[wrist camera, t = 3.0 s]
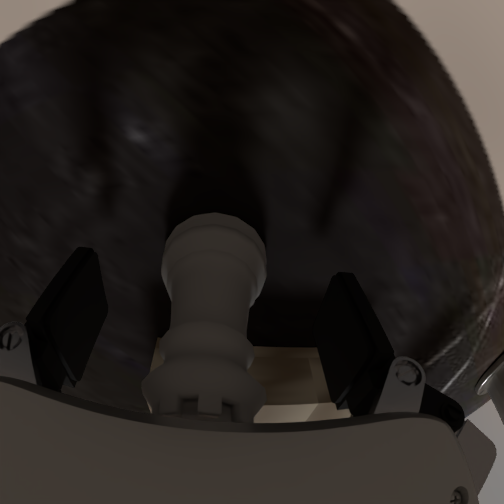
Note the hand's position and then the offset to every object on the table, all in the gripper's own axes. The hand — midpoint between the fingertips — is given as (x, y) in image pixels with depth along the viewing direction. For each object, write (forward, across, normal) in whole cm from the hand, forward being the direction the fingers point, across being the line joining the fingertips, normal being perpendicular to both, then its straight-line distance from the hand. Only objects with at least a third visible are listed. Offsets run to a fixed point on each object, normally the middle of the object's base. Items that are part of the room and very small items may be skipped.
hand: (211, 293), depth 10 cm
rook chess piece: (+3, 0, 0) cm, 3 cm away
